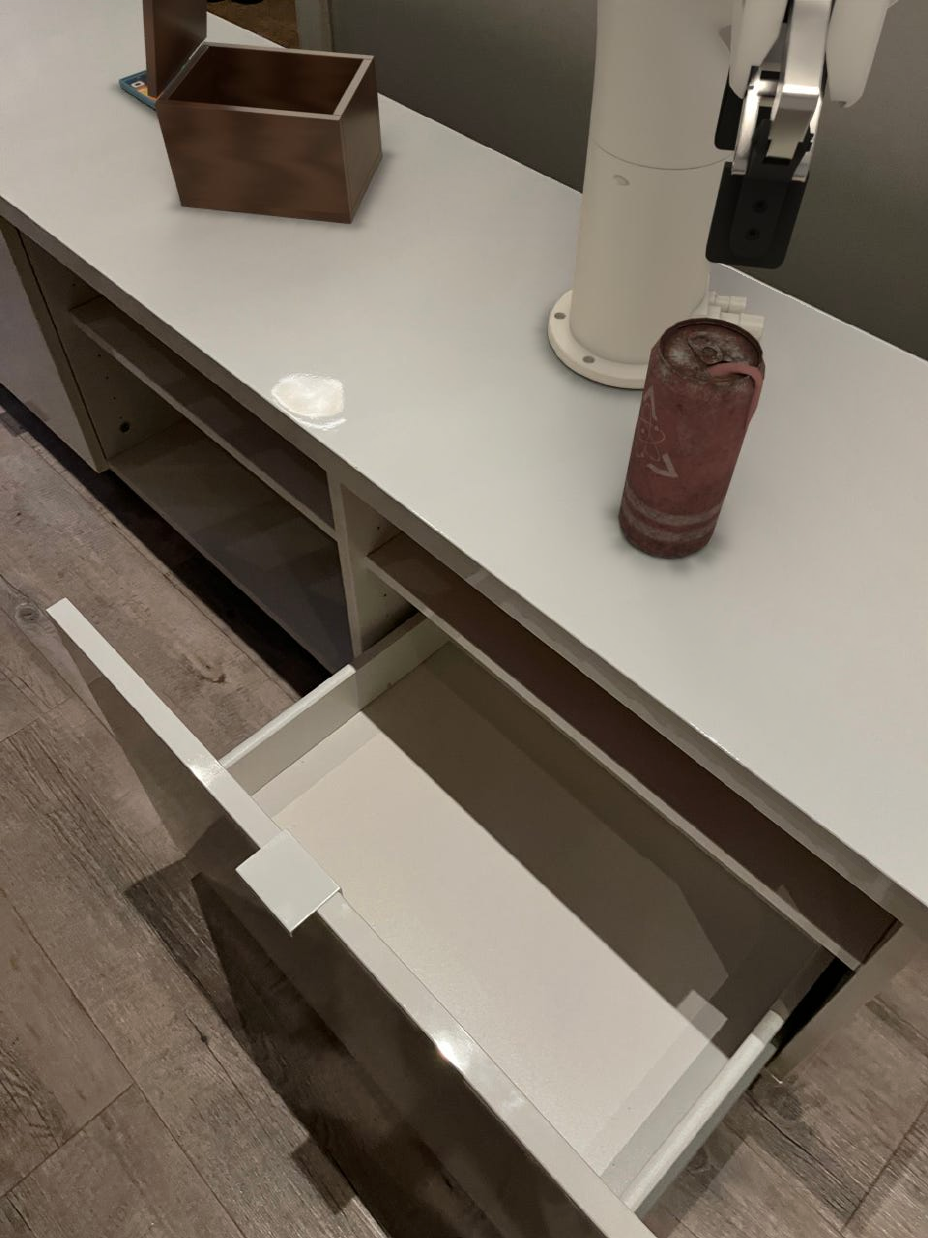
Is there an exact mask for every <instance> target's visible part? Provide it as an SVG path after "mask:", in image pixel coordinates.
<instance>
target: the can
mask: <svg viewBox="0 0 928 1238" xmlns="http://www.w3.org/2000/svg"><path fill="white" fill-rule="evenodd" d="M765 375H766V364H765V360H764V351H763V348H762V346H761V344H760V342H758V341H757V340H756V338H755V337H754V336H753V335H752V334H751V333H750V332H748V331H747V330H745V329H743V328H742V327H740V326H738V325H736V324H733V323H730V322H727V321H724V320H720V319H713V318H691V319H688V320H684V321H680V322H677V323H676V324H674V325H672V326H671V327H669V328H667V329H666V331H665V332H664V333H663V334H662V336H661V337H660V339H659V340H658V341H657V343H656V344H655V345H654V346H653V348H652V349H651V353H650V358H649V363H648V368H647V373H646V379H645V384H644V388H643V389H642V395H641V399H640V405H639V408H638V409H639V410H638V415H637V420H636V425H635V429H634V436H633V439H632V445H631V450H630V455H629V460H628V465H627V469H626V475H625V479H624V486H623V490H622V496H621V500H620V504H619V511H618V516H617V518H618V523H619V527H620V530H621V531H622V533H623V534H624V535H625V537H626V538H627V539H628V541H629V542H630V544H632V545H633V546H634V547H636V548H637V549H638V550H639V551H641V552H643V553H645V554H648V555H650V556H652V557H657V558H663V559H678V558H684V557H685V556H688V555H689V556H690V555H691V554H694V553H696V552H698V551H699V550H701V549H702V548H703V547H705V546H706V545H707V544H708V543H709V542H710V540H711V538H712V536H713V535H714V532H715V530H716V527H717V524H718V521H719V517H720V514H721V511H722V508H723V505H724V502H725V499H726V496H727V493H728V489H729V486H730V484H731V481H732V478H733V475H734V472H735V470H736V469H735V468H736V466H737V462H738V459H739V456H740V454H741V450H742V447H743V444H744V441H745V439H746V436H747V432H748V429H749V426H750V423H751V422H752V420H753V417H754V415H755V413H756V410H757V409H758V405H759V401H760V397H761V393H762V390H763V385H764V380H765V377H766V376H765Z"/></svg>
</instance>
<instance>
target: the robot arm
mask: <svg viewBox="0 0 928 1238" xmlns="http://www.w3.org/2000/svg"><path fill="white" fill-rule="evenodd" d="M899 1H900V0H597V1H596V3H597V4H596V7H597V9H596V10H597V11H596V17H597V18H596V45H595V47H596V48H595V61H594V62H595V64H594V76H593V86H592V87H593V88H592V97H591V98H592V99H591V108H590V119H589V129H588V137H587V138H588V139H587V148H586V158H585V168H584V177H583V185H582V195H581V204H580V205H581V206H580V213H579V215H580V216H579V225H578V235H577V241H576V242H577V243H576V244H577V245H576V252H575V253H576V254H575V263H574V272H573V281H572V288H570V289H569V290H568V291H566V292H565V293H563V294H562V295H560V296H559V298H558V299H557V300H556V302H554V304H553V306H552V308H551V311H550V313H549V318H548V327H547V329H548V330H547V333H548V335H547V336H548V340H549V343H550V346H551V348H552V350H553V351H554V354H555V355H556V357H557V358H559V359H560V360H561V362H563V364H565V366H566V367H568V368H570V369H571V370H572V371H574V372H575V373H577V374H578V375H580V376H583V377H585V378H587V379H589V380H591V381H593V382H597V383H599V384H603V385H606V386H611V387H616V388H621V389H636V390H640V389H641V390H643V389H644V384H645V379H646V373H647V368H648V363H649V358H650V353H651V349H652V348H653V346H654V345H655V344H656V343H657V341H658V340H659V339H660V337H661V336H662V334H663V333H664V332H665V331H666V329H667V328H669V327H671V326H672V325H674V324H676V323H677V322H680V321H684V320H688V319H691V318H713V319H720V320H724V321H727V322H730V323H733V324H736V325H738V326H740V327H742V328H743V329H745V330H747V331H748V332H750V333H751V334H752V335H753V336H754V337H755V338H756V340H757V341H758V342H759V343H760V342H761V340H762V336H763V333H764V328H765V321H766V319H765V318H766V317H765V315H763V314H753V313H746V310H747V306H748V296H738V295H721V294H717V291H716V290H710V283H711V281H710V280H711V265H712V264H722V265H728V266H729V265H730V266H738V267H749V268H757V269H767V270H776V269H778V268H780V267H781V266H782V265H783V263H784V261H785V258H786V255H787V252H788V249H789V245H790V242H791V238H792V235H793V232H794V229H795V226H796V222H797V218H798V215H799V212H800V209H801V205H802V201H803V198H804V195H805V192H806V188H807V185H808V182H809V178H810V168H811V167H810V166H811V162H812V158H813V153H814V148H815V144H816V143H815V142H816V137H817V132H818V127H819V122H820V116H821V111H822V106H823V102H824V97H825V93H826V86H827V83H828V95H829V101H830V102H838V105H839V107H840V108H842V109H848V108H850V107H852V106H853V105H854V104H856V103H857V102H858V101H859V100H860V99H861V98H862V97H863V95H864V92H865V89H866V85H867V82H868V79H869V76H870V71H871V69H872V65H873V61H874V58H875V54H876V51H877V47H878V44H879V40H880V36H881V33H882V29H883V26H884V23H885V19H886V16H887V12H888V10H889V8H891V7H892V6H894V5H895V4H897V3H898V2H899ZM727 27H731V29H730V50H729V48H728V46H727V45H726V43H725V42H724V40H723V38H722V36H721V34H720V32H721V31H722V30H723V29H724V28H727Z"/></svg>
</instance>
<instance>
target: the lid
mask: <svg viewBox="0 0 928 1238" xmlns="http://www.w3.org/2000/svg"><path fill="white" fill-rule="evenodd" d="M142 16H143V17H142V18H143V20H142V21H143V35H144V38H143V39H144V55H145V56H144V57H145V58H144V59H145V70H146V76H147V95H148V96H150V97H153V98H156V99H157V98H158V97H159V95H160V94H161V93H162V92H163V91H164V89H165V88H166V87H167V86H168V84H169V83H170V82H171V81H172V79H173V78H174V77H175V76H176V74H177V73H178V72H179V71H180V69H181V68H182V67H183V66H184V64H185V63H186V62H187V61H188V60H190V58H191V57H192V56H193V55H194V53H195V52H196V51H197V50H198V48H199V47H200V46H201V45H202V43H203V42H205V40H206V39H207V37H208V0H142Z"/></svg>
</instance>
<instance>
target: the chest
mask: <svg viewBox="0 0 928 1238" xmlns="http://www.w3.org/2000/svg"><path fill="white" fill-rule="evenodd" d="M376 68H377V67H376V57H375V55H371V54H370V55H367V54H359V53H345V52H334V51H323V50H309V49H299V48H286V47H273V46H263V45H249V44H239V43H228V42H227V43H226V42H217V41H215V42H214V41H203V42H202V43H201V45H200V46H199V47H198V48H197V50H196V51H195V52H194V53H193V55H192V56H191V57H190V58H189V61H188V62H187V63H186V64H185V66H184V67H183V68H182V69H181V71H180V72H179V73H178V74H177V76H176V77H175V78H174V79H173V81H172V82H171V83H170V84H169V86H168V87H167V88H166V89H165V91H164V92H163V93H162V94H161V96H160V97H159V98H158V99H157V100H156V102H155V103H154V105H155V109H156V110H155V109H154V110H155V113H156V116H157V120H158V124H159V128H160V131H161V135H162V139H163V143H164V147H165V150H166V151H165V152H166V155H167V159H168V162H169V166H170V168H171V173H172V176H173V180H174V185H175V187H176V191H177V196H178V200H179V203H180V206H181V207H189V208H199V209H206V210H207V209H208V210H218V211H227V212H235V213H236V212H237V213H245V214H254V215H255V214H256V215H264V216H265V215H266V216H274V217H283V218H292V219H293V218H294V219H302V220H312V221H321V222H329V223H330V222H331V223H340V224H351V223H352V222H353V220H354V217H355V215H356V213H357V212H358V208H359V207H360V205H361V203H362V200H363V198H364V196H365V194H366V191H367V190H368V188H369V185H370V183H371V182H372V179H373V176H374V174H375V172H376V171H377V169H378V167H379V164H380V162H381V160H382V158H383V149H382V135H381V121H380V108H379V97H378V96H379V95H378V83H377V72H376V71H377V70H376Z"/></svg>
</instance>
